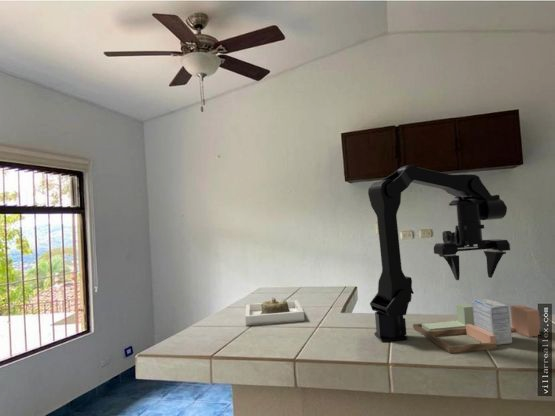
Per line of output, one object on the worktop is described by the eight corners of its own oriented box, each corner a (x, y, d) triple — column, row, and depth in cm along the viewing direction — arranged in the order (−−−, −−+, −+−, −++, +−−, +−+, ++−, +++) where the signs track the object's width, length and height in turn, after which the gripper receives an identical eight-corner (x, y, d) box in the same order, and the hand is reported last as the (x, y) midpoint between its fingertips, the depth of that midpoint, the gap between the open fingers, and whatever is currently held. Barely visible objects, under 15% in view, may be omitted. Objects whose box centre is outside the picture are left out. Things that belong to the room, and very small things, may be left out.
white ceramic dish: (245, 325, 121) (245, 316, 121) (246, 312, 139) (246, 304, 139) (304, 320, 122) (303, 311, 122) (297, 308, 140) (297, 300, 140)
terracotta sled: (491, 346, 89) (488, 319, 89) (466, 334, 99) (464, 309, 99) (554, 341, 90) (552, 314, 90) (523, 329, 100) (521, 305, 100)
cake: (287, 318, 127) (285, 301, 126) (257, 319, 129) (255, 302, 128) (292, 308, 136) (290, 293, 136) (263, 309, 138) (262, 294, 138)
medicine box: (512, 344, 90) (509, 305, 90) (494, 345, 90) (490, 307, 90) (492, 334, 98) (489, 298, 98) (474, 335, 97) (471, 300, 98)
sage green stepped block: (430, 334, 100) (428, 311, 100) (422, 329, 105) (420, 306, 105) (478, 330, 101) (476, 307, 101) (467, 325, 106) (465, 302, 106)
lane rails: (449, 353, 87) (449, 347, 87) (413, 328, 106) (412, 324, 106) (497, 348, 87) (496, 343, 87) (452, 325, 107) (451, 320, 107)
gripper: (484, 219, 117) (489, 272, 116) (423, 223, 116) (427, 277, 115) (509, 219, 106) (514, 277, 105) (441, 223, 105) (446, 283, 104)
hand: (473, 278), depth 108 cm, fingers open, 9 cm apart
